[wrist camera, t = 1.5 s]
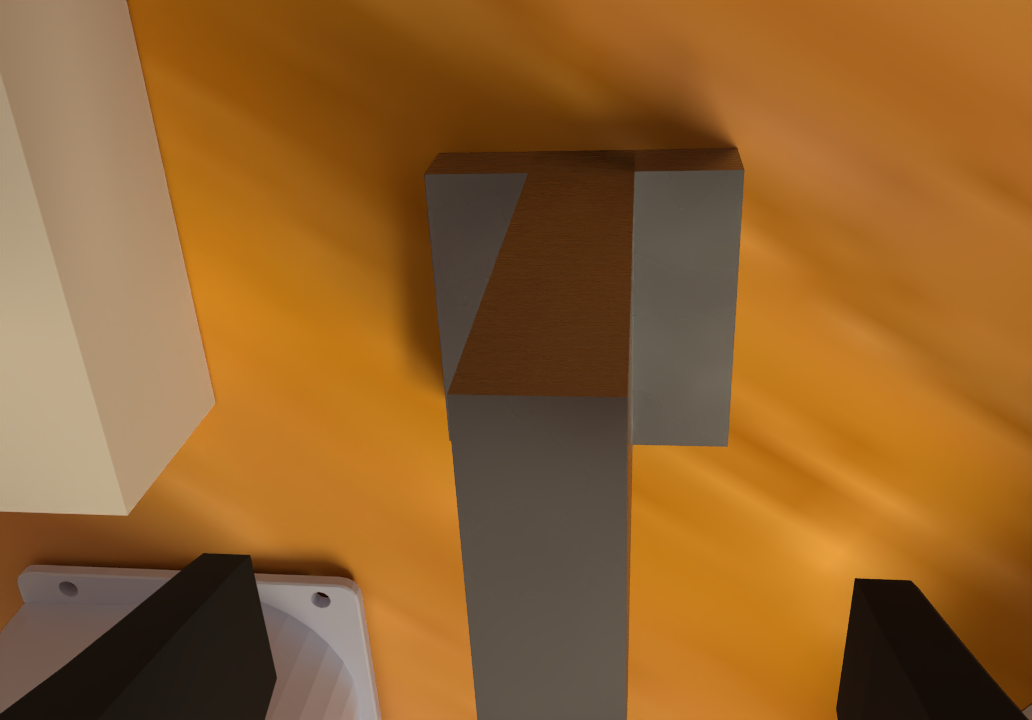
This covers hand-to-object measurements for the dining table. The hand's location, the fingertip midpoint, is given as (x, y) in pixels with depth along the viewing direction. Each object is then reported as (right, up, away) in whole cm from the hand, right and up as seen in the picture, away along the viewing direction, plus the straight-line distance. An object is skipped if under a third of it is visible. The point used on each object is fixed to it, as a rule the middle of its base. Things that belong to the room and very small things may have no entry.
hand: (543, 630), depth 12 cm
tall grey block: (+1, +5, +9) cm, 10 cm away
